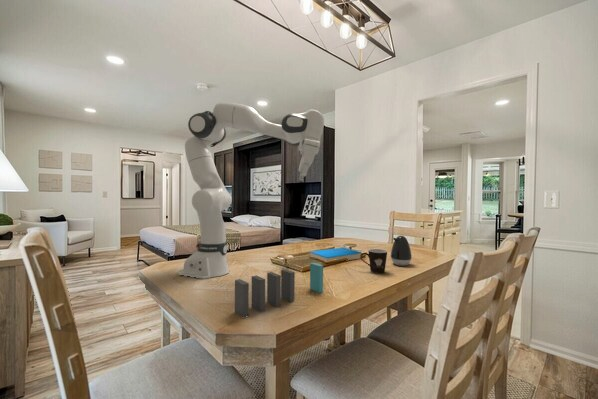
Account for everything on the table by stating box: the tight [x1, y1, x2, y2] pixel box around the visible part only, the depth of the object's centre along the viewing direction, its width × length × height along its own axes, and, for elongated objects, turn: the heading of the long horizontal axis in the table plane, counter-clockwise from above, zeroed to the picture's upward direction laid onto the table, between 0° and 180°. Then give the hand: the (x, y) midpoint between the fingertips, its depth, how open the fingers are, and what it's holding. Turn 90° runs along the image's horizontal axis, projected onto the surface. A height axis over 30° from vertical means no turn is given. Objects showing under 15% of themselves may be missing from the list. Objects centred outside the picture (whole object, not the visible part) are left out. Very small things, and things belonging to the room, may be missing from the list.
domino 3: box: [266, 271, 282, 308], centre depth 91 cm, size 2×5×10 cm, turn 41°
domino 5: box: [309, 262, 324, 294], centre depth 104 cm, size 2×5×10 cm, turn 41°
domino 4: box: [280, 268, 296, 303], centre depth 95 cm, size 2×5×10 cm, turn 41°
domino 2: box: [251, 274, 266, 313], centre depth 87 cm, size 2×5×10 cm, turn 41°
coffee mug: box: [360, 248, 388, 275], centre depth 130 cm, size 12×9×10 cm
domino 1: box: [234, 278, 250, 318], centre depth 83 cm, size 2×5×10 cm, turn 41°
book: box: [309, 247, 363, 262], centre depth 157 cm, size 17×4×25 cm
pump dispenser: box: [390, 235, 413, 267], centre depth 142 cm, size 10×10×15 cm
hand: (302, 178), depth 115 cm, fingers open, 8 cm apart
